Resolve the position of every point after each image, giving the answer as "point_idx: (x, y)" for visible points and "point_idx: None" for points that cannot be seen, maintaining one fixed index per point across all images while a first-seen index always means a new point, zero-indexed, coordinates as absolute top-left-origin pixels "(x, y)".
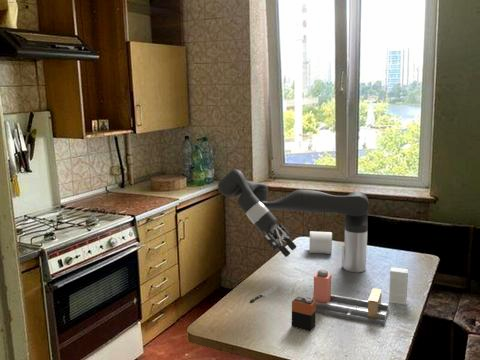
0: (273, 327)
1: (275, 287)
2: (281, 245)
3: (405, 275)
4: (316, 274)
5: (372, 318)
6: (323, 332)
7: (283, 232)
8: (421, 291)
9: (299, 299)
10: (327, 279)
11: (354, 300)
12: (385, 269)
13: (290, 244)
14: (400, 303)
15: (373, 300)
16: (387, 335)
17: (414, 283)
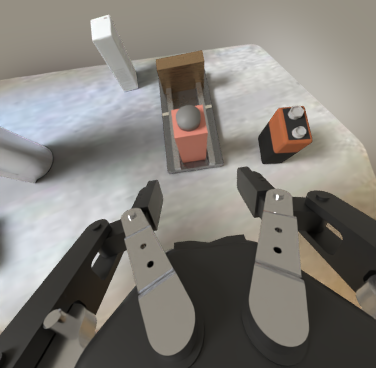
0: (301, 185)
1: (165, 252)
2: (285, 193)
3: (113, 23)
4: (192, 133)
5: (204, 81)
6: (266, 122)
7: (157, 246)
8: (89, 70)
9: (302, 129)
10: (202, 107)
11: (173, 108)
12: (28, 124)
13: (156, 204)
14: (136, 76)
15: (201, 55)
16: (224, 65)
17: (67, 82)
